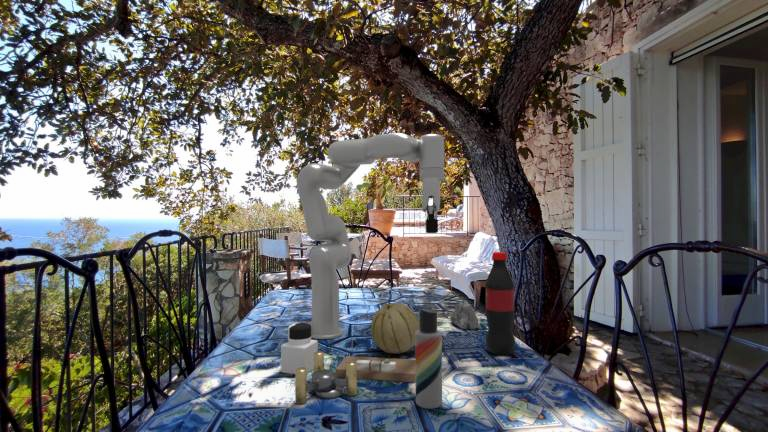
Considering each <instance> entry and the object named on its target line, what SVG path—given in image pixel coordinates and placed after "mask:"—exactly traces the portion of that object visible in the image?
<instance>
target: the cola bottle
mask: <svg viewBox="0 0 768 432" xmlns="http://www.w3.org/2000/svg"><path fill="white" fill-rule="evenodd" d="M491 260H492V261H493V263H492V267H491V270H490V272H489V274H488V276H487V278H486V281H485V285H484V286H485V287H484V288H485V316H486V322H487V333H486V336H485V346H486V349H487V350H488V352H489V353H491V354H493V355H496V356H509V355H511V354H513V353H514V351H515V348H516V338H515V336H514V333H513V326H514V323H515V322H514V320H515V315H516V314H515V313H516V312H515V310H516V309H515V283H514V281H513V278H512V276H511V274H510V272H509V270H508V268H507V263H506V261H507V253H506V252H505V251H504V252H503V251H495V252H492V259H491Z"/></svg>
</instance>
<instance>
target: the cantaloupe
mask: <svg viewBox="0 0 768 432" xmlns="http://www.w3.org/2000/svg"><path fill="white" fill-rule="evenodd" d="M370 323H371V324H370V333H371V337H372V341H373V342H374V343H375V345H376V346H377V347H378V348H379V349H380V350H381V351H383V352H385V353H388V354H393V355H394V354H395V355H397V354H399V355H400V354H402V353H406V352H407V351H409V350H411V348H413V347H414V346H415V332H416V331H418V330H420V319H418V316H417V314H416V313H415V312H414V310H413V309H411V308H410V307H409V306H407V305H406V304H402V303H398V302H392V303H388V304H385V305H384V306H382V307H380V308H379V309H378V310H376V312H375V313H374V314H373V318H372V319H371V322H370Z"/></svg>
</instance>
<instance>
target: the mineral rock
mask: <svg viewBox="0 0 768 432" xmlns="http://www.w3.org/2000/svg"><path fill="white" fill-rule="evenodd" d="M449 319H450V321H451V322H452V323H453V324H454V325H456V326H457V327H459V328H461V329H464V330H475V329H478V328H479V327H480V325H479V319H478V316H477V314H476V312H475V309H474V308H473V307H472V305H471V304H470V303H468V300H466V299H463V300H461V301H460V302H459V303H457V305H456V307H455V309H454V310H453V311H452V312H451V316H450V318H449Z"/></svg>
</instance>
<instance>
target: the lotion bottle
mask: <svg viewBox="0 0 768 432" xmlns="http://www.w3.org/2000/svg"><path fill="white" fill-rule="evenodd" d="M418 313H419V315H418V316H419V319H418V320H419V324H420V330H418V331H416V332H415V345H414V346H415V347H414V353H415V354H414V355H415V357H414V360H415V382H414V383H415V388H414V389H415V403H416V405H417V406H418V407H420V408H422V409H430V410H431V409H434V410H435V409H438V408H440V407H441V405H442V404H443V346H442V345H443V335H442V332H441V331H440V330H438V312H437V311H435V310H433V309H431V308H430V309H429V308H421V309H420V311H419V312H418Z"/></svg>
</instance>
